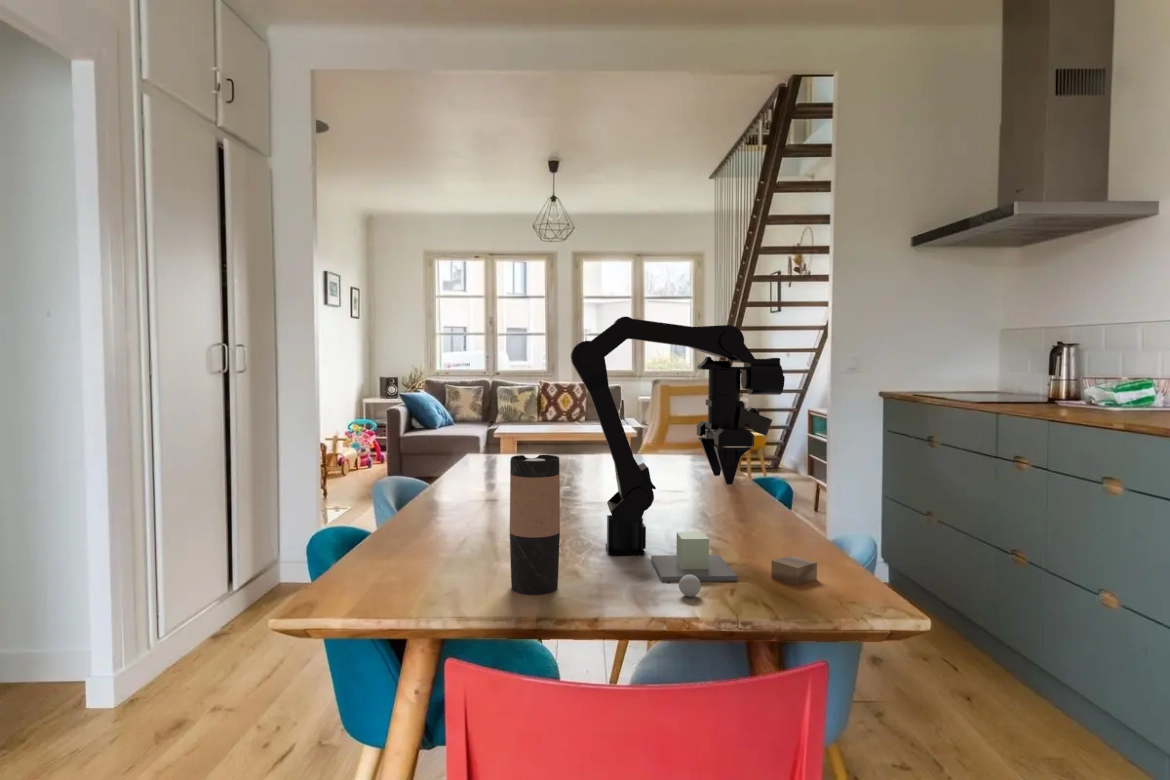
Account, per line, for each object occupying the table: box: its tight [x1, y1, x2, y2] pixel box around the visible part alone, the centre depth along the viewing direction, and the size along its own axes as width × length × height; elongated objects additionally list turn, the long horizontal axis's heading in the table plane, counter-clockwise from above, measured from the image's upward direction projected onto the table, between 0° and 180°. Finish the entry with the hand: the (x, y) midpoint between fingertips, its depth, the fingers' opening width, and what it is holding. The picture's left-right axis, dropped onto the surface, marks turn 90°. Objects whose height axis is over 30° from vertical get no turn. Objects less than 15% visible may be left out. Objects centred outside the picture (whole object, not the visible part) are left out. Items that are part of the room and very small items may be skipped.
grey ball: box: [678, 575, 702, 598], centre depth 106 cm, size 3×3×3 cm
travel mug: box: [509, 454, 561, 596], centre depth 109 cm, size 8×8×20 cm
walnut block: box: [770, 555, 818, 586], centre depth 115 cm, size 5×5×3 cm
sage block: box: [675, 531, 710, 569], centre depth 119 cm, size 4×4×5 cm
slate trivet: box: [650, 554, 738, 583], centre depth 119 cm, size 12×12×1 cm
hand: (722, 479), depth 131 cm, fingers open, 9 cm apart
